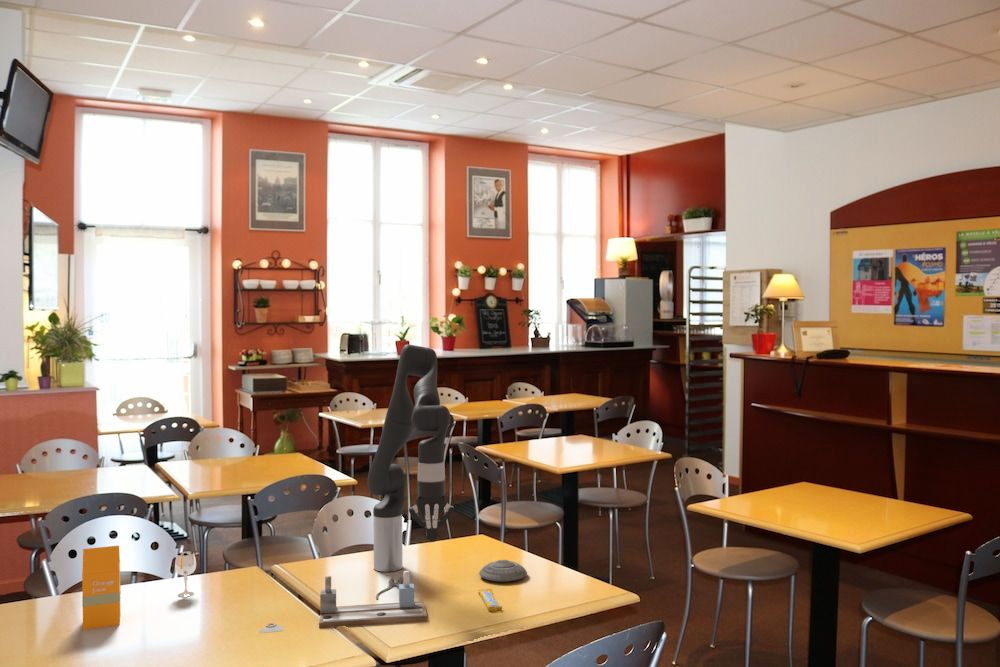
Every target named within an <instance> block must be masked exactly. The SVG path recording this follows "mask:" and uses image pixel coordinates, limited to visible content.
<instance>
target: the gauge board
mask: <svg viewBox="0 0 1000 667" xmlns="http://www.w3.org/2000/svg"><path fill="white" fill-rule="evenodd" d="M319 596H320V599H319V600H320V601H319V603H320V607H319V608H320V610H319V611H320V615H319V621H318V627H319V628H332V627H349V626H364V625H378V624H379V625H380V624H395V623H397V624H398V623H413V622H414V623H415V622H425V621H428V614H427V609H426V603H425V601H424V600H422V601H414V606H412V607H400V606H399V602H391V603H390V602H389V603H376V604H375V603H374V604H358V605H357V604H356V605H355V604H354V605H339V606H337V589H336V588H332V576H331V575H327V576H325V577H324V589H320V593H319Z"/></svg>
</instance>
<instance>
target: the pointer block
mask: <svg viewBox="0 0 1000 667" xmlns="http://www.w3.org/2000/svg"><path fill="white" fill-rule="evenodd" d="M414 602H415V584H414V583H410V570H404V571H403V583H402V584H399V589H398V603H399V606H400V607H412V606H414Z"/></svg>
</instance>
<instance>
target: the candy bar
mask: <svg viewBox="0 0 1000 667" xmlns="http://www.w3.org/2000/svg"><path fill="white" fill-rule="evenodd" d="M477 592H478V594H479V596H480V597H481V599H482V601H483V603H484V605H485V607H486V608H487V611H488V612H491V613H492V612H497V611H498V612H499V611H502V610H503V606H502V605H500V604H499V603H498V601H497V600H496V598H495V596H494V594H493V589H492V588H483V589H478V590H477Z"/></svg>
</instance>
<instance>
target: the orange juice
mask: <svg viewBox="0 0 1000 667" xmlns="http://www.w3.org/2000/svg"><path fill="white" fill-rule="evenodd" d="M81 574H82V575H81V578H82V579H81V580H82V581H81V582H82V583H81V584H82V587H81V588H82V593H81V594H82V602H81V603H82V604H81V605H82V630H83V631H85V630H91V629H97V628H98V629H99V628H106V627H113V626H114V627H115V626H121V618H122V617H121V613H122V612H121V594H122V593H121V592H122V591H121V560H120V545H111V546H102V547H101V546H99V547H91V548H83V550H82V573H81Z"/></svg>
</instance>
